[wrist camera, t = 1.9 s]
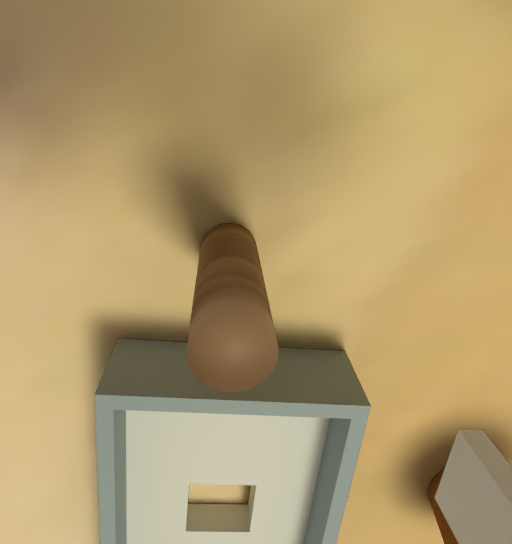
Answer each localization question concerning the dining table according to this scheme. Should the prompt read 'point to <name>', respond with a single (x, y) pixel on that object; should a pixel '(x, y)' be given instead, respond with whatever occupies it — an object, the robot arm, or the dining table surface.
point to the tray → (225, 448)
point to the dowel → (230, 314)
